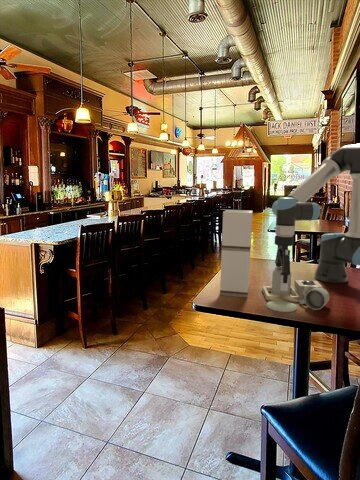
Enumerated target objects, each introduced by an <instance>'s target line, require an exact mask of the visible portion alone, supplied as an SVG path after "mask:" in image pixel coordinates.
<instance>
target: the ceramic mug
mask: <svg viewBox="0 0 360 480" xmlns="http://www.w3.org/2000/svg"><path fill="white" fill-rule="evenodd" d="M329 300H330V294H329V292H328V291H327V289H326V288H324V287H323V288H319V287H317V288H314V289H312V290H310V291H308V292H307V293H306V295H305V298H303V299H300V300H299V302H298V303H299V304H300V305H304V304H305V305H306V306H307V307H308V308H309V309H310V310H313V311H317V310H319V311H320V310H321V309H323V308H324V307H325V306H326V305H327V304H328V303H329V302H330V301H329Z"/></svg>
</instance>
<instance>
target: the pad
mask: <svg viewBox="0 0 360 480" xmlns="http://www.w3.org/2000/svg"><path fill="white" fill-rule="evenodd" d="M266 307H267V308H268V309H270V310H271V311H275V312H280V313H293V312H296V311H297V305H296V303H294V302H293V303H292V302H290V301H280V300H275V301H269V300H268V302H267V303H266Z"/></svg>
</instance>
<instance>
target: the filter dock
mask: <svg viewBox="0 0 360 480" xmlns="http://www.w3.org/2000/svg"><path fill="white" fill-rule="evenodd" d="M304 280H305V279H304ZM304 280H302V279H301V280H300V279H295V280H294V287H292V286H290V294H291V295H290V296H284V295H272V294H270V293H269V292H272V286H267V285H266V286H265V285H264V286H263V285H262V287H261V288H262V289H261V291H262V293H263V295H264V299H265V301H268V302H269V301H275V300H280V301H287V302H291V303H292V302H293V303H294V302H295V303H299V300H300V299H303V298H305V295H306V293H307V292H308V291H310V290H312V289H314V288H317V287H319V288H324V287H323V285H321V284H320V283H319V282H318V280H313V281H314V285H303V281H304Z"/></svg>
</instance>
